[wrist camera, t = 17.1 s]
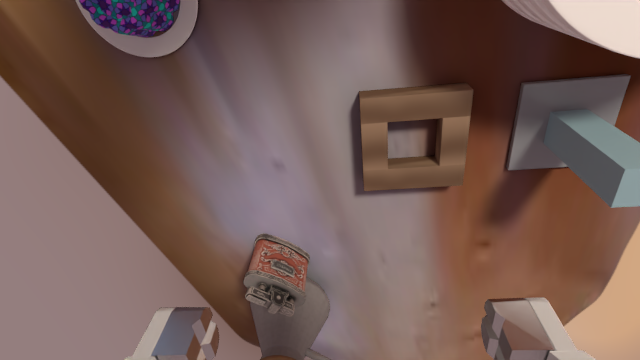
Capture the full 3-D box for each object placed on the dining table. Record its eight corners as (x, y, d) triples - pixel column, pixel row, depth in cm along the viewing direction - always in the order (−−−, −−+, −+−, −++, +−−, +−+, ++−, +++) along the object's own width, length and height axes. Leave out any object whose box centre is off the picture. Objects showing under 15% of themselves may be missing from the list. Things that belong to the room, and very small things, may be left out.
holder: (358, 91, 39) (359, 99, 37) (466, 82, 38) (473, 89, 36) (363, 180, 45) (364, 190, 43) (456, 174, 44) (462, 185, 42)
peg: (550, 111, 39) (625, 169, 29) (587, 109, 38) (676, 166, 28) (543, 143, 41) (611, 207, 30) (578, 140, 40) (658, 205, 30)
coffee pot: (256, 313, 59) (232, 413, 46) (252, 260, 53) (223, 358, 40) (391, 322, 58) (404, 426, 46) (402, 270, 52) (422, 372, 40)
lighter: (314, 253, 52) (308, 313, 43) (302, 268, 53) (295, 328, 45) (262, 229, 50) (245, 286, 41) (251, 245, 51) (233, 303, 43)
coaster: (521, 82, 38) (524, 84, 37) (626, 74, 37) (630, 75, 36) (506, 167, 43) (508, 170, 43) (598, 162, 42) (601, 164, 42)
